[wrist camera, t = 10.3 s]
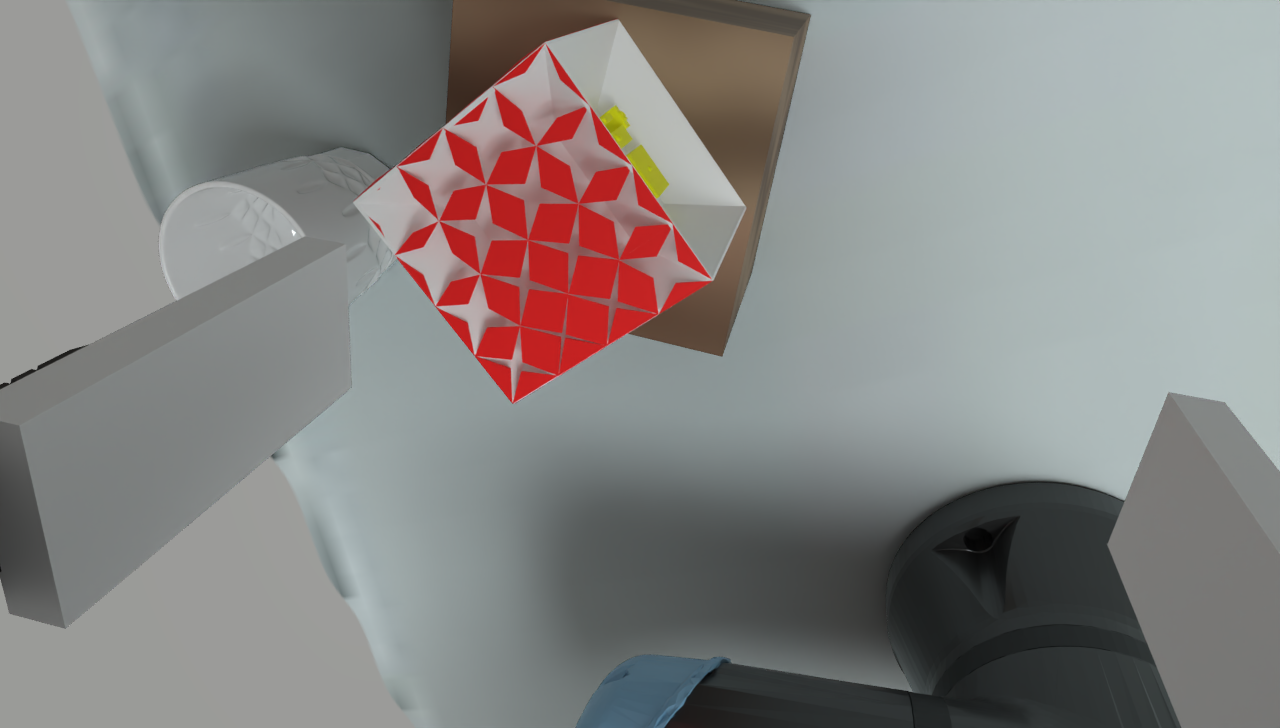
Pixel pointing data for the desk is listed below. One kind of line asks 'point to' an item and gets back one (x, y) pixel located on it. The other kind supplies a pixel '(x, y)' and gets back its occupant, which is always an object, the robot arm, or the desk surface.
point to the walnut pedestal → (697, 82)
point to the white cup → (273, 220)
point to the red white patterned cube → (558, 209)
